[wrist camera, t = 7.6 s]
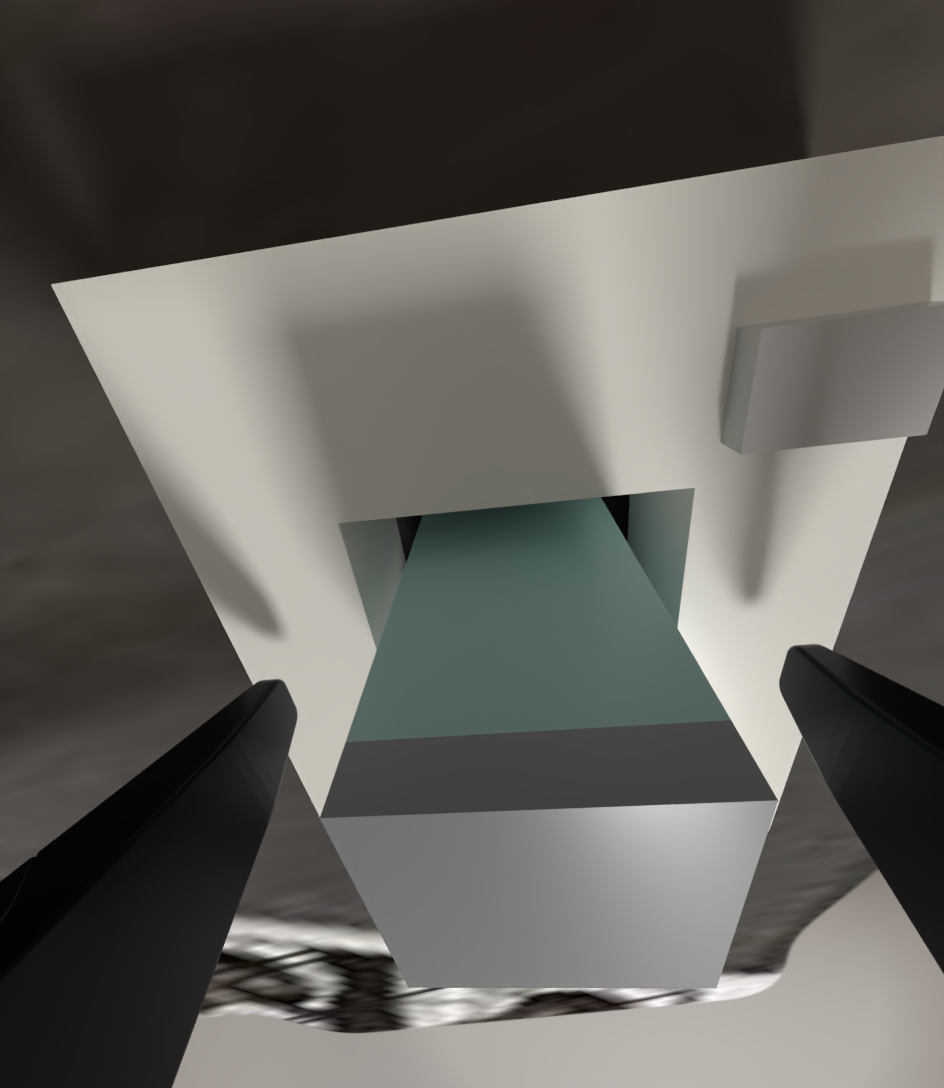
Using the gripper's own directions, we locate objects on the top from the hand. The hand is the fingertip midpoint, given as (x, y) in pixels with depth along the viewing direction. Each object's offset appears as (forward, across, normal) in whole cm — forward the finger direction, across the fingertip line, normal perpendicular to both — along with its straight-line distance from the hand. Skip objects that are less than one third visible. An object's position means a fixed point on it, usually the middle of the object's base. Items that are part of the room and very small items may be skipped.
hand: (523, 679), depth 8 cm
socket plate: (+4, 0, 0) cm, 4 cm away
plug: (+4, 0, 0) cm, 4 cm away
